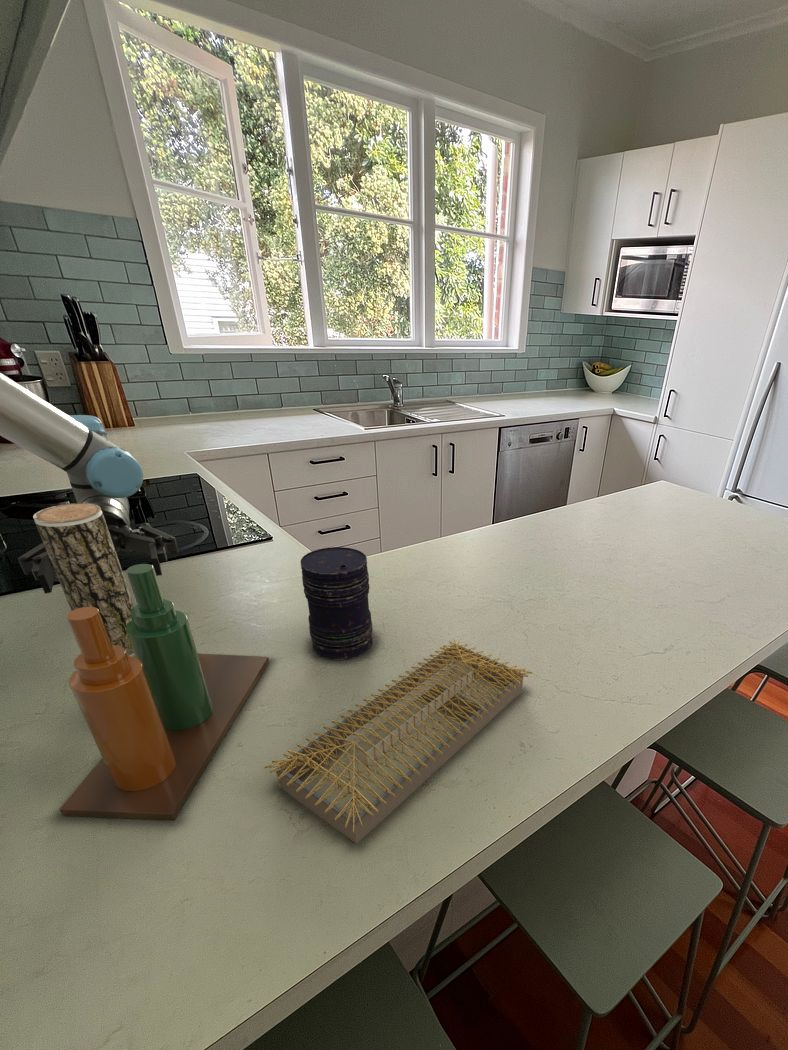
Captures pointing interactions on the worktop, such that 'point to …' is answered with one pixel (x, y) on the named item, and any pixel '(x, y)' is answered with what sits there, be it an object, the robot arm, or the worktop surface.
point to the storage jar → (338, 602)
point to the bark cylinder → (88, 565)
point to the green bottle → (166, 653)
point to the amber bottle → (118, 706)
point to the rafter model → (399, 735)
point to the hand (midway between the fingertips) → (102, 575)
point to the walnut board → (175, 749)
